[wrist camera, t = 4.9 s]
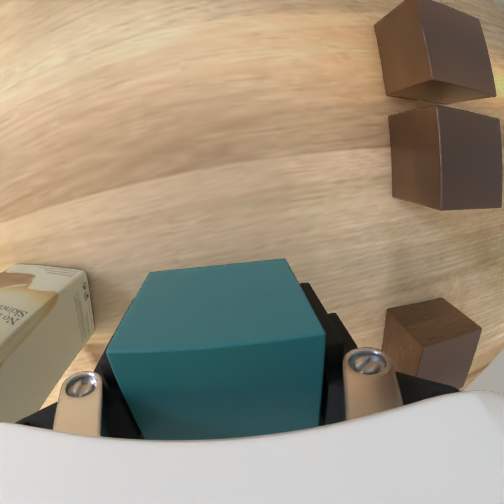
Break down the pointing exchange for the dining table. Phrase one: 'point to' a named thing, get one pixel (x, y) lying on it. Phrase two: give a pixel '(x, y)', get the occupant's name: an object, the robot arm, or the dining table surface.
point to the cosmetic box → (39, 333)
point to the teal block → (220, 353)
